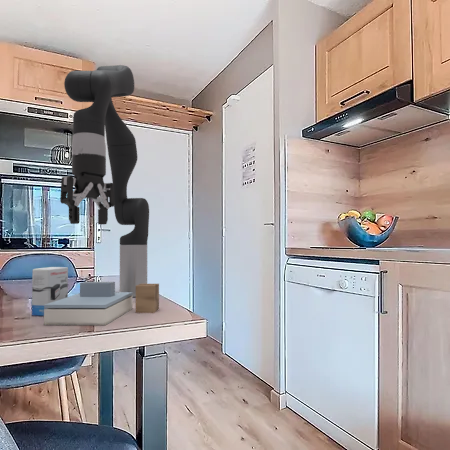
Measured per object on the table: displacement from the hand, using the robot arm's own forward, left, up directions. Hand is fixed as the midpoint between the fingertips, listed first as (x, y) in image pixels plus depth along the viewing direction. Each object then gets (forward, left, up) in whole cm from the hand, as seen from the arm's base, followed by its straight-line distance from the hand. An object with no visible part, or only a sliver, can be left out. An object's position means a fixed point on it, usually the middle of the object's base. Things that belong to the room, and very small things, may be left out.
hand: (89, 224), depth 88 cm
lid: (-6, -2, -19) cm, 20 cm away
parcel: (-13, +10, -23) cm, 28 cm away
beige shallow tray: (-6, -2, -23) cm, 24 cm away
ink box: (-10, -15, -23) cm, 29 cm away
